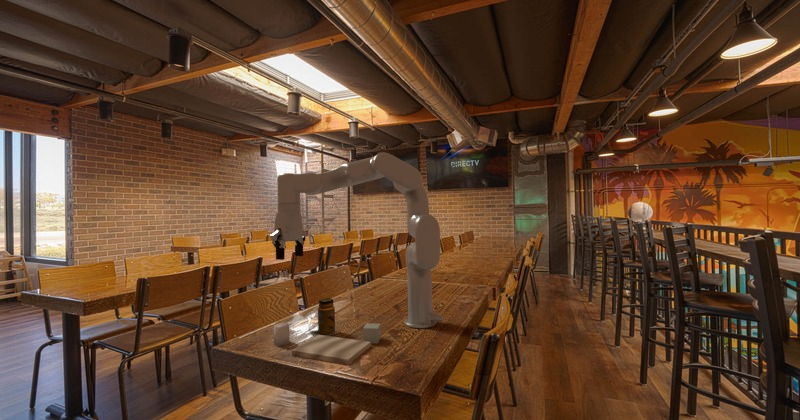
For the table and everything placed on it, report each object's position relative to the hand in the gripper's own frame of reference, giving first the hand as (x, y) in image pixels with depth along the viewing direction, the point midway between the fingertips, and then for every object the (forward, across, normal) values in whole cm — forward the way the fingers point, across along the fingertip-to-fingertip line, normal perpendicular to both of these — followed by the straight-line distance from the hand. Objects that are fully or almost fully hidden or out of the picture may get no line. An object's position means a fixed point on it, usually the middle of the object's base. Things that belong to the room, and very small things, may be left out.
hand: (290, 257), depth 117 cm
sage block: (+28, -8, +28) cm, 40 cm away
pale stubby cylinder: (+28, +4, 0) cm, 29 cm away
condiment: (+28, -9, +8) cm, 31 cm away
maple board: (+28, +4, +20) cm, 35 cm away
